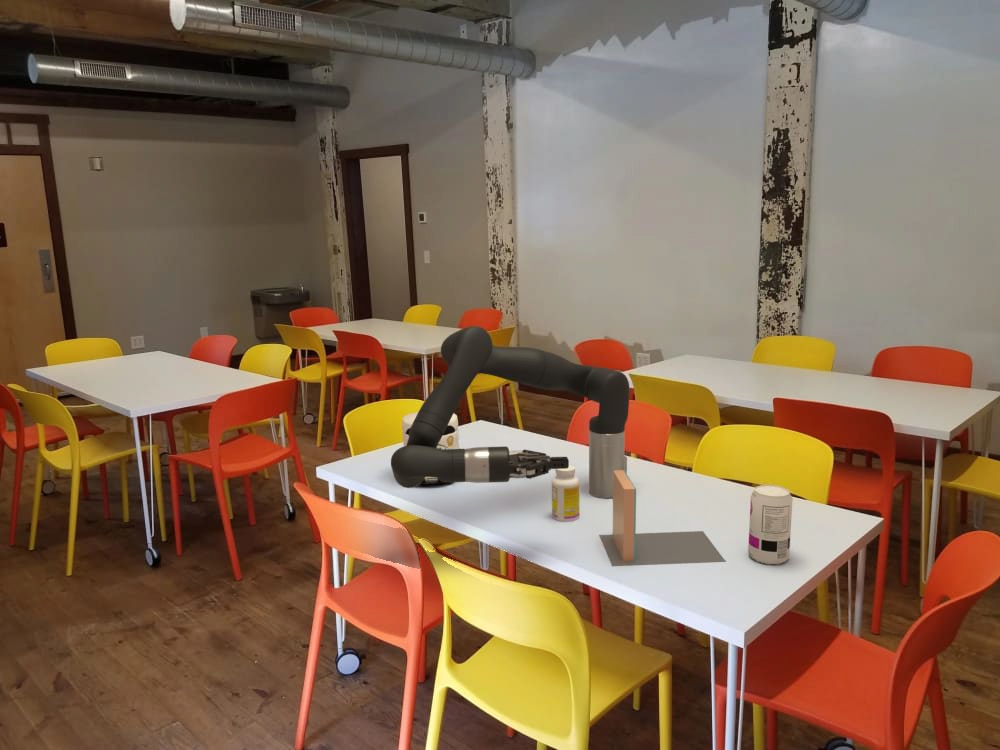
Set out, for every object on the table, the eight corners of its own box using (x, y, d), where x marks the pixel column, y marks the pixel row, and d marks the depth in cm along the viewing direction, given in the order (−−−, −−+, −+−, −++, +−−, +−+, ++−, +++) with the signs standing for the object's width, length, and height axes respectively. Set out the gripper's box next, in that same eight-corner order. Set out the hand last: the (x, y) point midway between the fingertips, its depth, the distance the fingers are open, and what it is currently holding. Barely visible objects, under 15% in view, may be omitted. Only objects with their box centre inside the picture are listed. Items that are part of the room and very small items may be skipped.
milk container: (425, 493, 205) (423, 429, 201) (389, 478, 218) (386, 417, 214) (475, 478, 216) (473, 416, 212) (438, 464, 229) (436, 406, 225)
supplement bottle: (583, 515, 187) (584, 465, 185) (572, 525, 182) (572, 473, 179) (559, 511, 191) (559, 461, 188) (547, 520, 185) (546, 469, 183)
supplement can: (741, 558, 163) (744, 491, 160) (759, 546, 168) (762, 481, 165) (777, 569, 157) (781, 500, 154) (795, 556, 163) (799, 489, 160)
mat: (612, 567, 159) (612, 566, 159) (599, 536, 175) (599, 534, 175) (725, 563, 160) (726, 561, 160) (702, 532, 176) (702, 531, 176)
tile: (623, 561, 161) (624, 489, 158) (612, 538, 173) (613, 470, 170) (635, 560, 161) (636, 488, 158) (623, 537, 173) (624, 470, 170)
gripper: (487, 457, 155) (572, 454, 155) (485, 438, 168) (564, 436, 168) (487, 492, 156) (572, 489, 157) (486, 471, 169) (564, 469, 170)
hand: (568, 462), depth 163 cm, fingers closed
